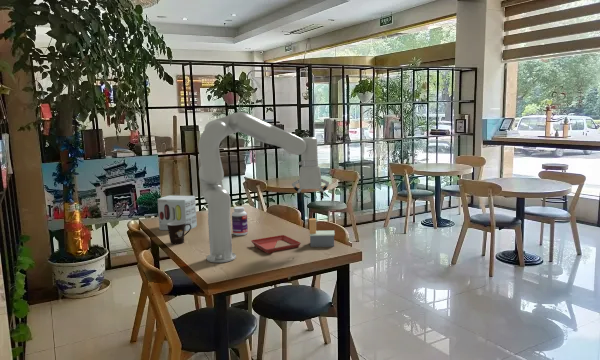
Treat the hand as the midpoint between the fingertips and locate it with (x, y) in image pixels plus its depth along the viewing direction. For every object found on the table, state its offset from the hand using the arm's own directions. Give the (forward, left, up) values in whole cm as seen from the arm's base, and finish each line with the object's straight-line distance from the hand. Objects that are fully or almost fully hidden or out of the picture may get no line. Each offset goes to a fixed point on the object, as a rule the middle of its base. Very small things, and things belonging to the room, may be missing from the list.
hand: (311, 200), depth 210 cm
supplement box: (+41, +78, -22) cm, 91 cm away
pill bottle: (+25, +39, -22) cm, 51 cm away
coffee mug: (+9, +67, -22) cm, 71 cm away
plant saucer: (-1, +17, -23) cm, 28 cm away
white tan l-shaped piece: (0, -5, -16) cm, 17 cm away
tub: (0, -5, -22) cm, 22 cm away
